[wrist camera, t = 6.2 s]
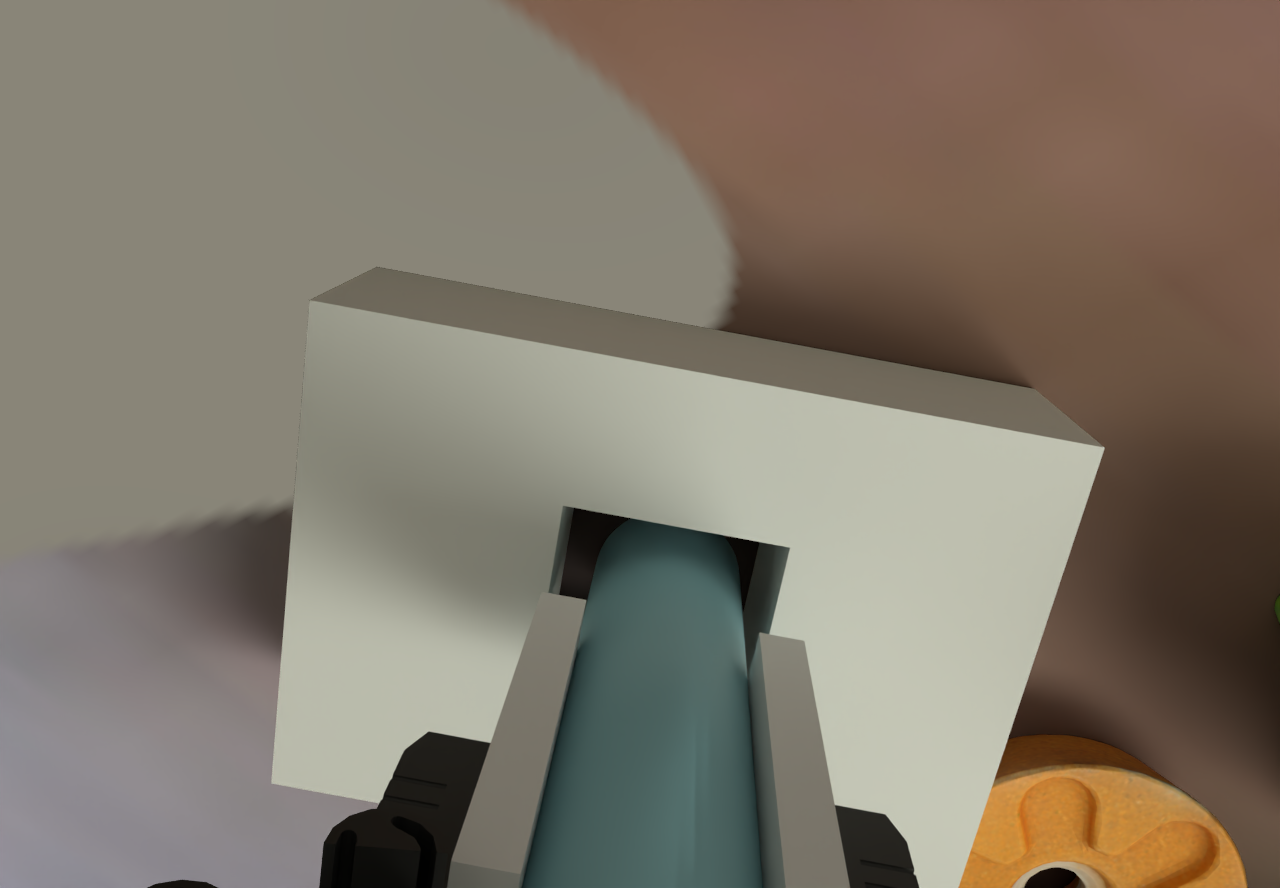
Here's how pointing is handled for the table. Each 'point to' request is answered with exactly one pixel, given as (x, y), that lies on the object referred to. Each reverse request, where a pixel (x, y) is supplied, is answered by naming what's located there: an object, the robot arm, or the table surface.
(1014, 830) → the colourful stacking toy
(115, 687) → the table surface
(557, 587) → the socket block
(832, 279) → the table surface
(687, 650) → the peg
